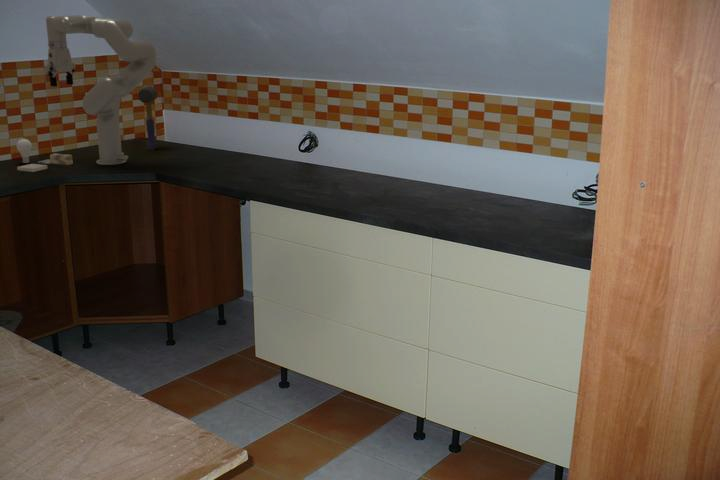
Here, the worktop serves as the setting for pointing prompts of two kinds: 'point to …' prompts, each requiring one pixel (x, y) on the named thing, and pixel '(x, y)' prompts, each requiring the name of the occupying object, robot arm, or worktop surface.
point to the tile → (32, 167)
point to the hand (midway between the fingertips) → (62, 85)
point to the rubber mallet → (149, 112)
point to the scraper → (59, 159)
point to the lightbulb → (24, 149)
